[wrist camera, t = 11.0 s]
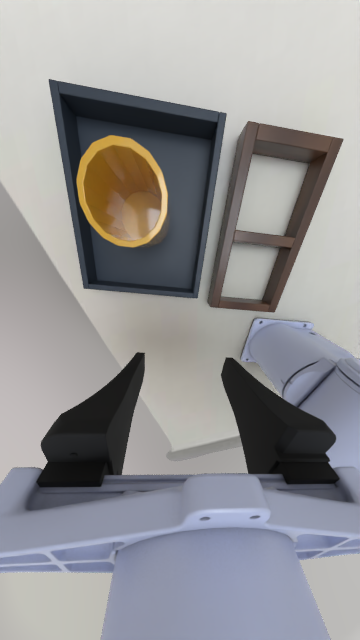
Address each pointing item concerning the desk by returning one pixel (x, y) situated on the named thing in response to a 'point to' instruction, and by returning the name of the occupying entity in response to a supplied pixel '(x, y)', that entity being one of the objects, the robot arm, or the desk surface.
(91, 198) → the cup
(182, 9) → the desk surface
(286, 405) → the robot arm
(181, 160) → the dark blue tray
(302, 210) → the frame
